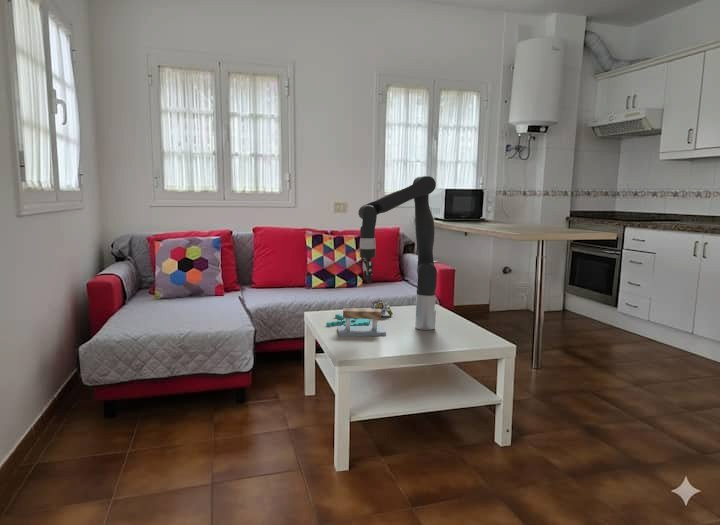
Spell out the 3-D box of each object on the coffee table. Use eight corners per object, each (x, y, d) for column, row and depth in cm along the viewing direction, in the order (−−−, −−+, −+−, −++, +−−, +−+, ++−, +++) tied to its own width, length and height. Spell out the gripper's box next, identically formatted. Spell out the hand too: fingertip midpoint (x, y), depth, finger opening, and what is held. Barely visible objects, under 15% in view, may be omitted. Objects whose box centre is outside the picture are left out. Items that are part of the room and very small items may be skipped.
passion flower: (378, 327, 263) (366, 310, 260) (378, 319, 273) (366, 302, 270) (395, 317, 261) (383, 300, 258) (395, 309, 271) (383, 292, 268)
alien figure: (326, 327, 243) (365, 330, 239) (326, 322, 243) (365, 325, 239) (336, 317, 262) (372, 320, 258) (336, 313, 262) (372, 316, 258)
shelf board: (380, 315, 235) (380, 308, 235) (381, 318, 229) (381, 311, 229) (343, 315, 235) (343, 308, 235) (343, 318, 229) (343, 311, 229)
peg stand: (381, 328, 241) (381, 313, 240) (386, 335, 229) (386, 319, 228) (337, 329, 238) (337, 314, 237) (339, 336, 226) (339, 320, 225)
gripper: (378, 248, 224) (378, 283, 226) (372, 245, 238) (372, 278, 240) (362, 249, 223) (362, 284, 225) (357, 246, 237) (357, 279, 239)
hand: (367, 281), depth 232 cm, fingers open, 8 cm apart
